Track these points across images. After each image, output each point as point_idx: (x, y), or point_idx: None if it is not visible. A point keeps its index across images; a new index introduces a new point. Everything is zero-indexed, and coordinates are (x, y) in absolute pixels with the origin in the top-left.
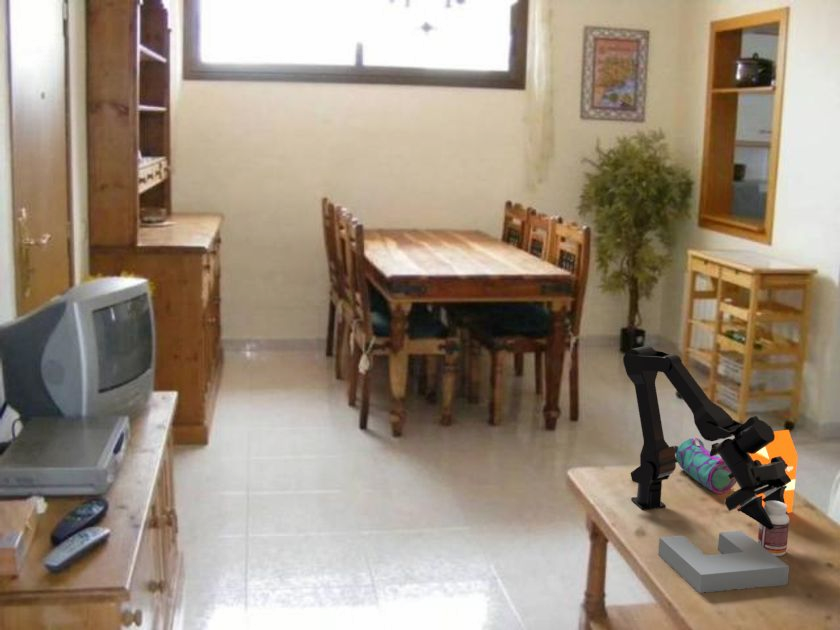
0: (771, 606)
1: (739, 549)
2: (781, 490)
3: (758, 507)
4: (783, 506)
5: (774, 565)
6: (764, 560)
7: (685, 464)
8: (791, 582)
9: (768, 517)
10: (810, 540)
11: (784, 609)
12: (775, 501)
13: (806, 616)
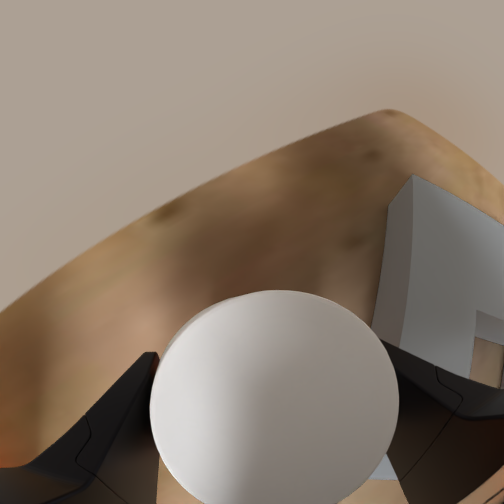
0: (459, 180)
1: (472, 337)
2: (22, 499)
3: (494, 389)
4: (253, 326)
5: (444, 200)
6: (454, 234)
7: None
8: (369, 206)
9: (391, 358)
10: (48, 349)
11: (444, 162)
12: (204, 474)
13: (421, 133)
